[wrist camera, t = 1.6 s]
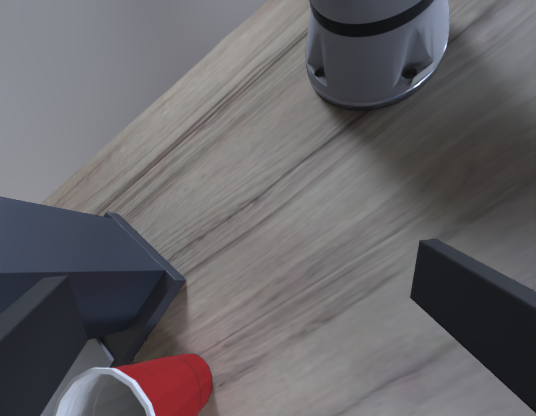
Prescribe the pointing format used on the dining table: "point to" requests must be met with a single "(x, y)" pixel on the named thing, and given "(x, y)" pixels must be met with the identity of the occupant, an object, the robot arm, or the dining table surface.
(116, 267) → the water dispenser
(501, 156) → the dining table surface
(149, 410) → the plastic cup
